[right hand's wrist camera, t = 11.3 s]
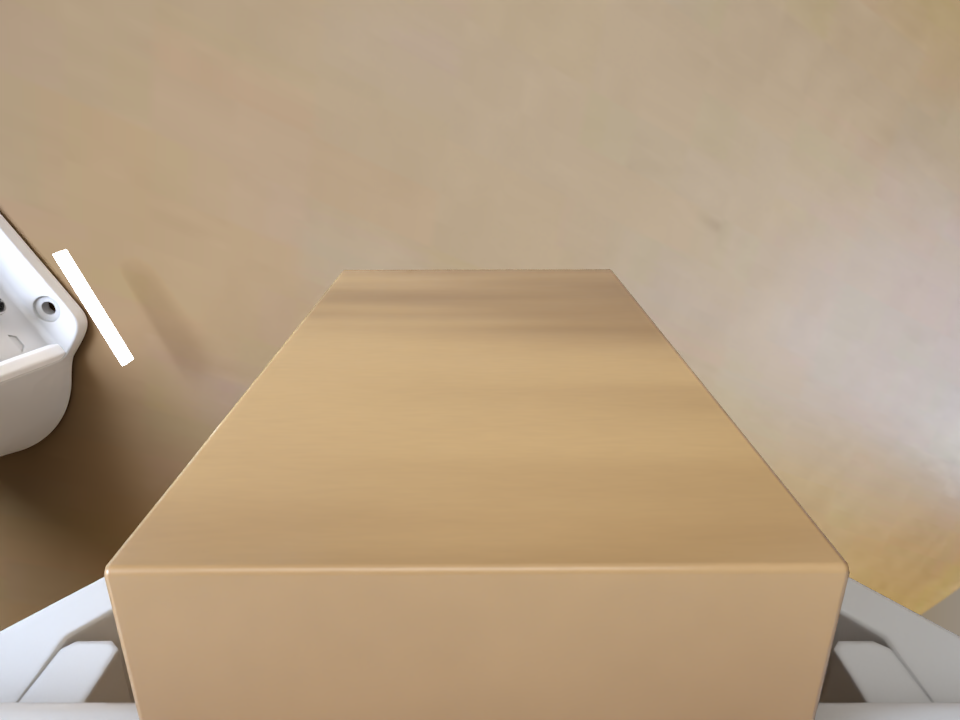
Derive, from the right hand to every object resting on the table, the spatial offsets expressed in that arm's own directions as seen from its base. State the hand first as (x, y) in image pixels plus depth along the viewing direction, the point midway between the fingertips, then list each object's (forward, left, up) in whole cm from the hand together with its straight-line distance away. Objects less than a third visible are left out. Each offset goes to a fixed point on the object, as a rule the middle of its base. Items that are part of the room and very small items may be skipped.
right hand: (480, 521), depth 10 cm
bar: (+10, -4, -3) cm, 11 cm away
